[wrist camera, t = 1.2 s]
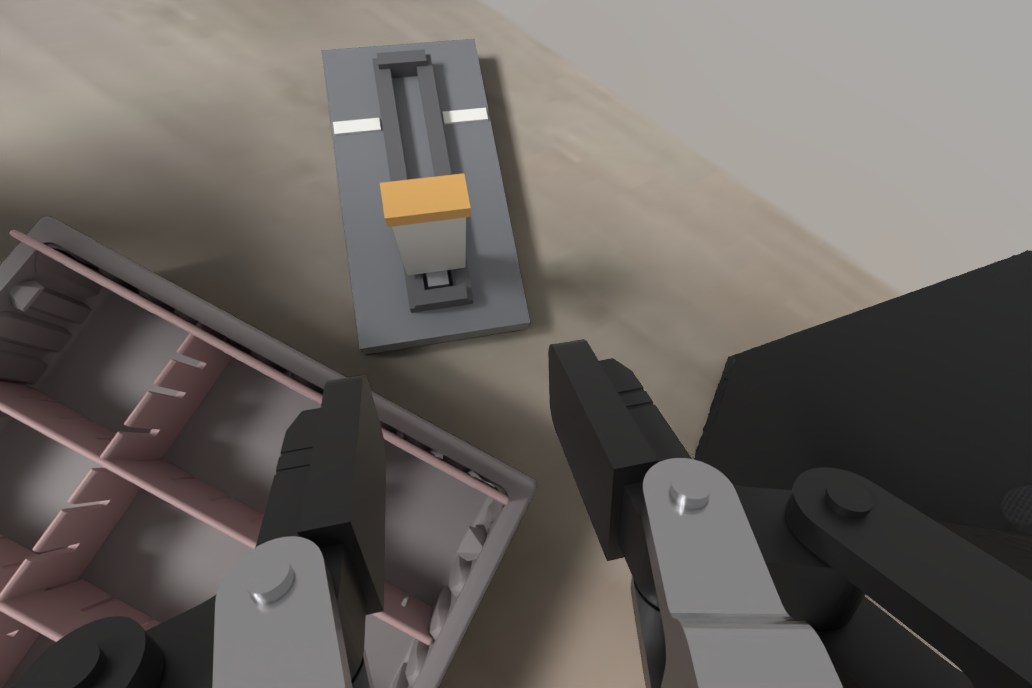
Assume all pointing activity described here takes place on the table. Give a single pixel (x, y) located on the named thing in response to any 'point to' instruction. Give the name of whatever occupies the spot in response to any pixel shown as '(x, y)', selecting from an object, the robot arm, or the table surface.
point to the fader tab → (429, 224)
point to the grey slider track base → (411, 155)
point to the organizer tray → (198, 464)
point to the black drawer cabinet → (900, 406)
